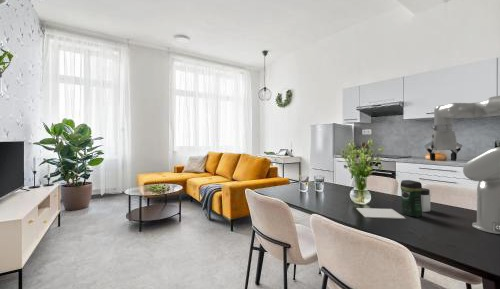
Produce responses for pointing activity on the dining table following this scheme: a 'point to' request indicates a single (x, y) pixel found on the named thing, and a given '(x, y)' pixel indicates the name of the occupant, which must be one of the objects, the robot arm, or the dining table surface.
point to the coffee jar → (411, 198)
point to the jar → (425, 200)
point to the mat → (379, 213)
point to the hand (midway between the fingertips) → (443, 160)
